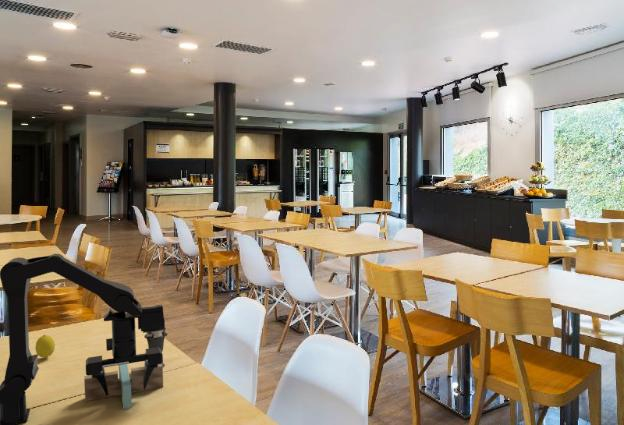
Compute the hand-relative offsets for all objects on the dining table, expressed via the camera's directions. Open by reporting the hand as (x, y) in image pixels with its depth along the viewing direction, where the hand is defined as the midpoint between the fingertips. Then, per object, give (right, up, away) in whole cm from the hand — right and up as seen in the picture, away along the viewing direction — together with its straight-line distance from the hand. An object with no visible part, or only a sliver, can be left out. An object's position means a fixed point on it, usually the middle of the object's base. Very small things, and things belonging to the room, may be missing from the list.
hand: (126, 391), depth 128 cm
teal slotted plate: (-2, -2, +5) cm, 6 cm away
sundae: (+1, -1, +22) cm, 22 cm away
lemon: (-37, 0, +29) cm, 47 cm away
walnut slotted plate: (-2, -2, +5) cm, 6 cm away
